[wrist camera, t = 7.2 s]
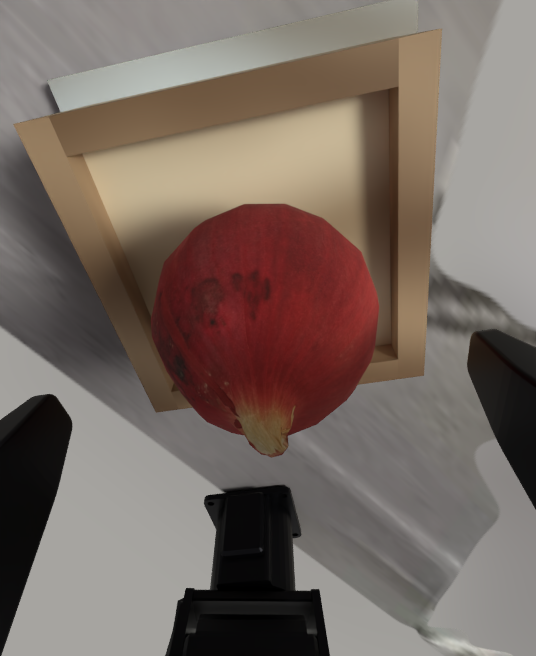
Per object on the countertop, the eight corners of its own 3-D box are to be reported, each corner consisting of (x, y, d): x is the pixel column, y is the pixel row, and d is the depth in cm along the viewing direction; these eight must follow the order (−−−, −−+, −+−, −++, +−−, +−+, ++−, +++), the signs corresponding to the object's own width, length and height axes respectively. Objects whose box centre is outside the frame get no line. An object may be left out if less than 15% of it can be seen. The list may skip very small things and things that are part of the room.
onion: (174, 307, 15) (77, 499, 8) (207, 149, 12) (99, 242, 5) (318, 349, 15) (342, 557, 9) (384, 210, 12) (499, 363, 6)
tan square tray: (406, 315, 20) (448, 390, 16) (168, 352, 22) (141, 431, 17) (412, -4, 13) (491, -39, 9) (54, 79, 14) (-45, 88, 10)
